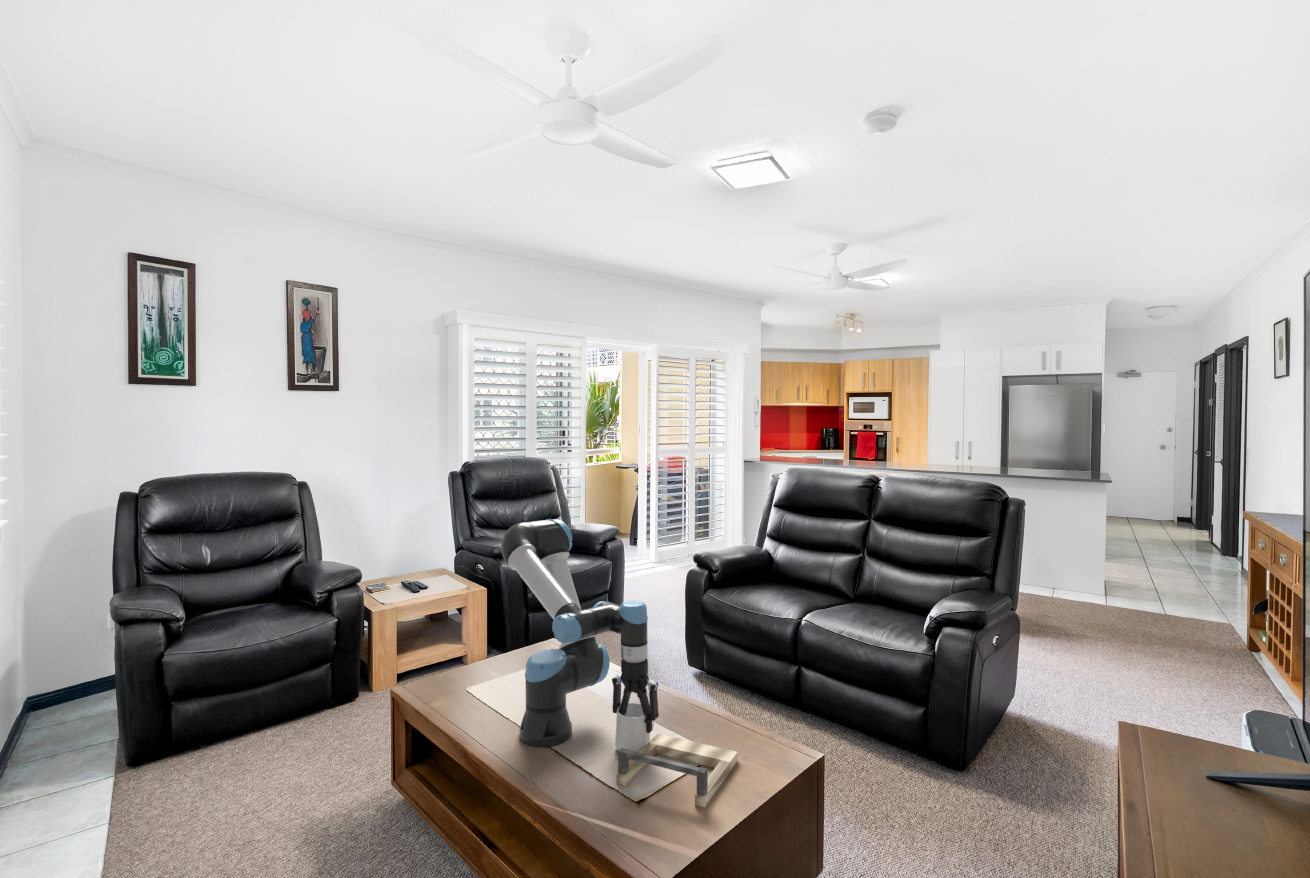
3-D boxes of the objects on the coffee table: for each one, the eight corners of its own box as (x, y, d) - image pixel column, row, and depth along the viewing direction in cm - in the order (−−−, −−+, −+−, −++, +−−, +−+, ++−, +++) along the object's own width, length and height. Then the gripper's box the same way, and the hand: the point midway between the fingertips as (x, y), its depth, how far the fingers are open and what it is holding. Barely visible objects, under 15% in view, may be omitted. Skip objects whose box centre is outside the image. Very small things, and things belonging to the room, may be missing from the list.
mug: (626, 760, 174) (629, 720, 174) (608, 746, 181) (610, 707, 181) (661, 748, 181) (663, 709, 181) (643, 735, 188) (645, 697, 188)
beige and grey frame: (616, 783, 163) (616, 752, 163) (657, 742, 185) (657, 714, 185) (704, 807, 153) (704, 774, 153) (737, 761, 174) (737, 731, 174)
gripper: (598, 657, 181) (599, 740, 181) (659, 667, 172) (660, 753, 172) (611, 649, 187) (613, 729, 187) (670, 658, 179) (672, 741, 179)
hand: (635, 740), depth 180 cm, fingers closed on mug, 6 cm apart
